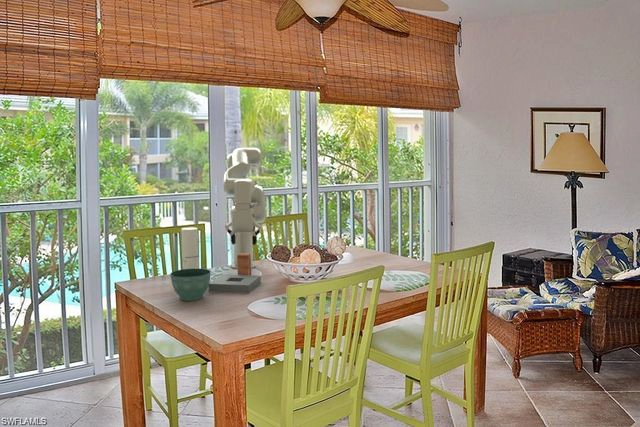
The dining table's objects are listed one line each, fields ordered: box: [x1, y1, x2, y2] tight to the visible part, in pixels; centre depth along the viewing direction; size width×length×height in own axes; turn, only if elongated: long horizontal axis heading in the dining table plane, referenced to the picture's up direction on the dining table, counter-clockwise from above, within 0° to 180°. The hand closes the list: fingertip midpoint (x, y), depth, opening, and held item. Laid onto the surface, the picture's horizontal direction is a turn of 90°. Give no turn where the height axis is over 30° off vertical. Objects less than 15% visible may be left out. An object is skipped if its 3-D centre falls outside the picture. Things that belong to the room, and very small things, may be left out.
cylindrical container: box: [180, 226, 200, 269], centre depth 276 cm, size 7×7×25 cm
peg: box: [237, 253, 252, 275], centre depth 282 cm, size 5×5×12 cm
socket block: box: [207, 273, 262, 294], centre depth 269 cm, size 18×18×4 cm
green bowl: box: [170, 268, 212, 302], centre depth 251 cm, size 16×16×11 cm
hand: (243, 244), depth 280 cm, fingers open, 9 cm apart
